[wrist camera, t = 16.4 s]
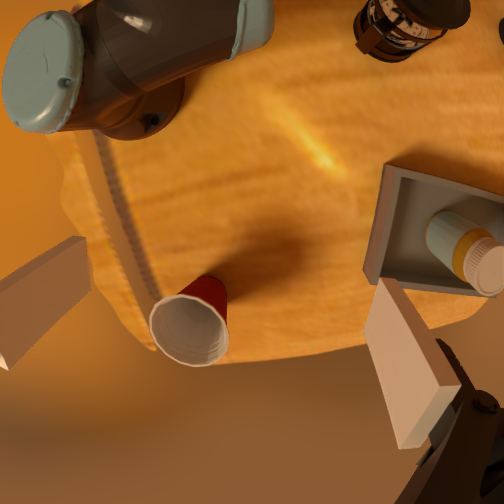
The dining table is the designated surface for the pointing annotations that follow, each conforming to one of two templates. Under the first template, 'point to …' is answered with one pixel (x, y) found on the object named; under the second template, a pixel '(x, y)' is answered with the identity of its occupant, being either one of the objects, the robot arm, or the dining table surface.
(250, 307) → the dining table surface
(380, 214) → the crate
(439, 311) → the dining table surface
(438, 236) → the bottle
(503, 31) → the pen holder
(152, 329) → the plastic cup
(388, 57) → the french press
